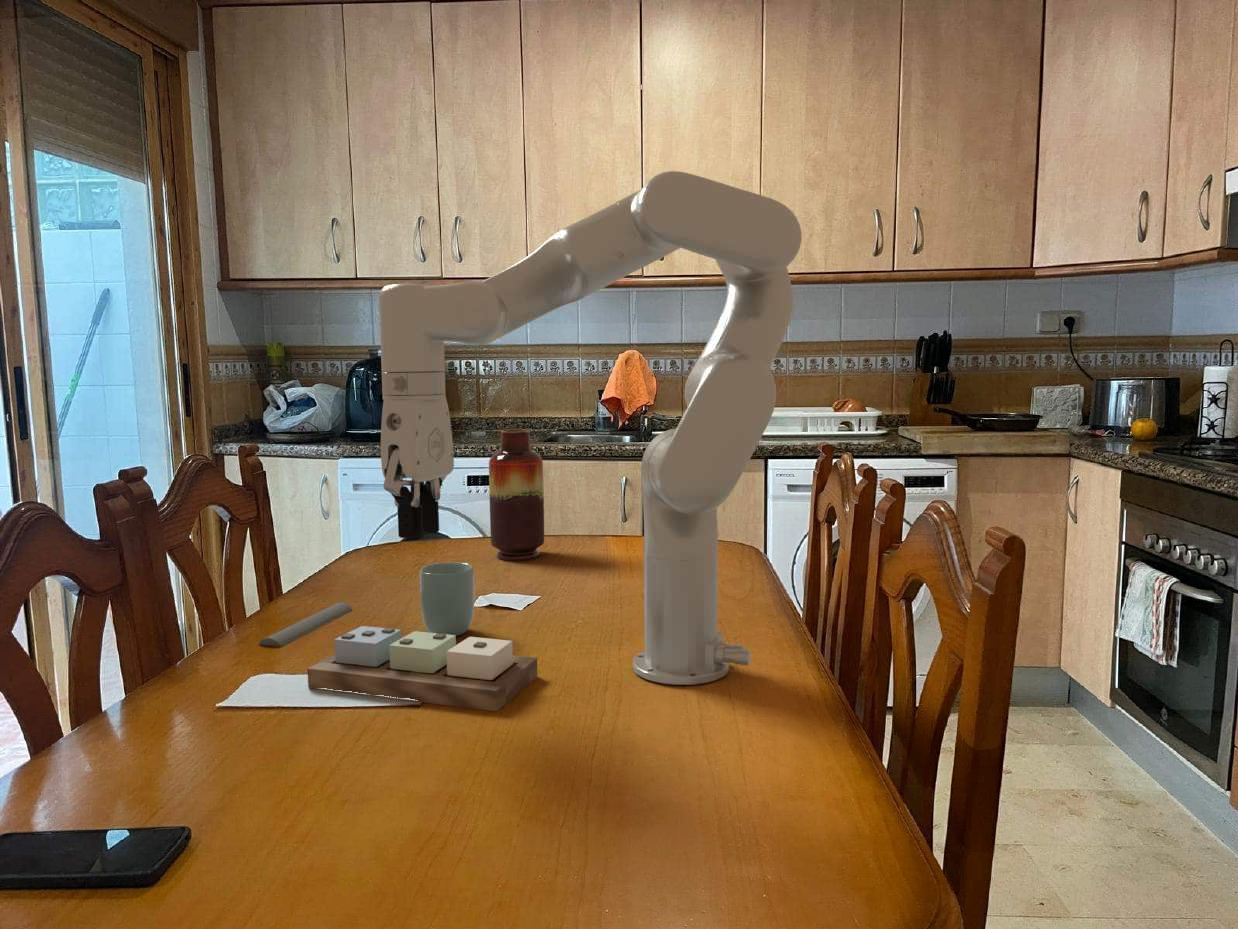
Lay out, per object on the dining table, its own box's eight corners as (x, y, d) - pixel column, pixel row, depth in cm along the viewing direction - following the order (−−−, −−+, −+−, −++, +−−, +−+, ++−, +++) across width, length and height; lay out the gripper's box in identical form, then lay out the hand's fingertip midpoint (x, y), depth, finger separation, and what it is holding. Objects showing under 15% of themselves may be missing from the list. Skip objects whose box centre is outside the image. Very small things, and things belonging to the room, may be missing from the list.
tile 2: (456, 657, 116) (455, 633, 115) (432, 673, 110) (431, 647, 110) (415, 653, 118) (414, 628, 117) (390, 668, 112) (389, 642, 112)
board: (537, 676, 116) (537, 657, 116) (496, 711, 104) (495, 690, 104) (363, 657, 124) (363, 639, 124) (308, 687, 113) (307, 668, 112)
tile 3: (402, 652, 118) (401, 627, 118) (376, 667, 113) (375, 641, 112) (362, 647, 120) (361, 623, 120) (335, 662, 114) (334, 637, 114)
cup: (463, 643, 130) (461, 575, 129) (413, 640, 131) (411, 573, 130) (482, 627, 137) (480, 563, 136) (434, 624, 139) (432, 561, 138)
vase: (555, 553, 188) (553, 429, 185) (522, 564, 179) (519, 433, 175) (513, 548, 194) (511, 427, 191) (479, 558, 184) (476, 431, 181)
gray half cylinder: (256, 649, 130) (255, 637, 129) (331, 611, 148) (331, 601, 148) (282, 651, 129) (281, 639, 128) (354, 613, 147) (354, 602, 147)
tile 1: (513, 663, 113) (512, 638, 113) (491, 680, 108) (491, 653, 107) (470, 659, 115) (469, 634, 115) (447, 675, 110) (446, 649, 109)
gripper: (404, 389, 101) (410, 550, 103) (472, 385, 116) (476, 524, 118) (347, 389, 103) (354, 546, 105) (421, 384, 119) (426, 522, 121)
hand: (419, 533), depth 112 cm, fingers open, 3 cm apart
